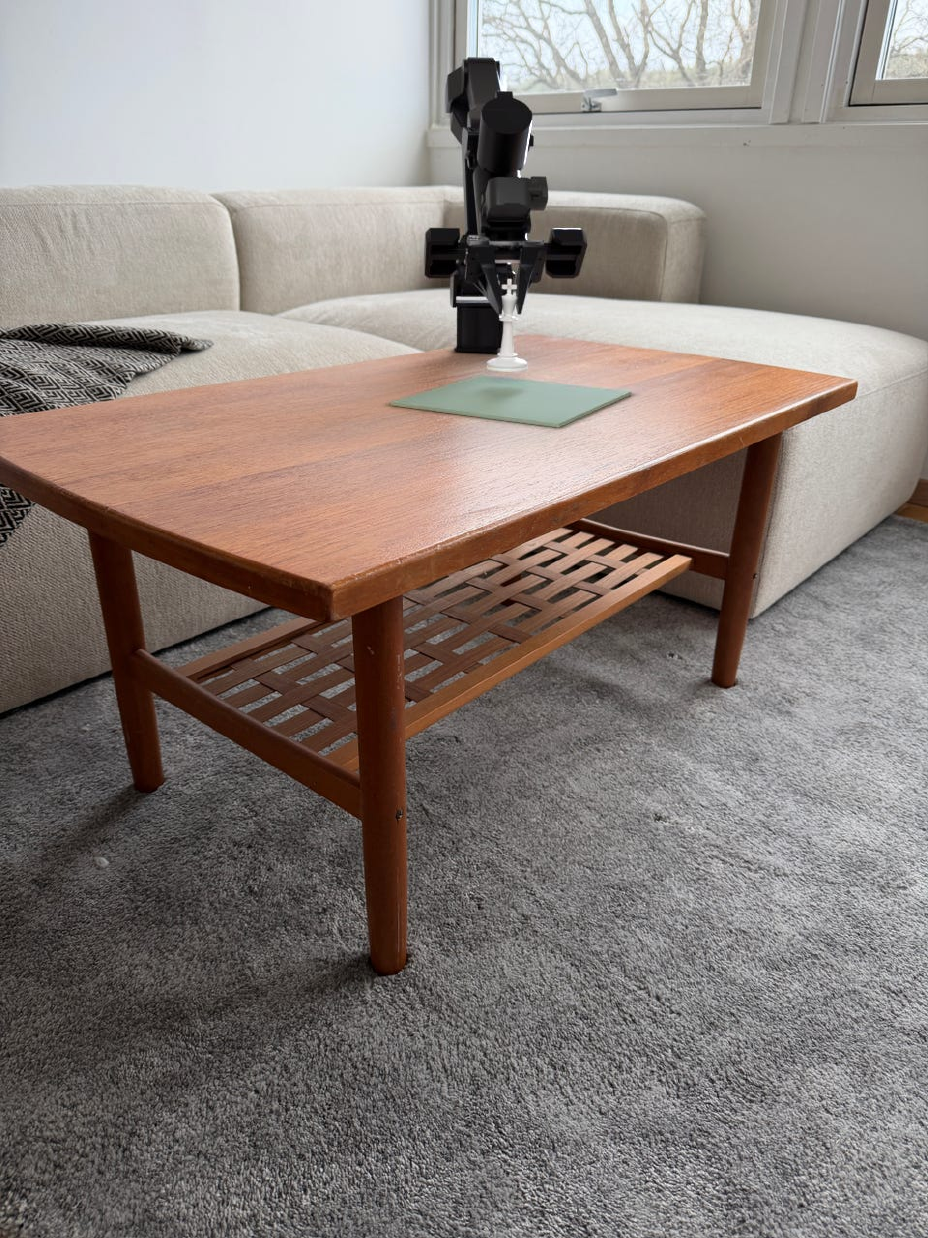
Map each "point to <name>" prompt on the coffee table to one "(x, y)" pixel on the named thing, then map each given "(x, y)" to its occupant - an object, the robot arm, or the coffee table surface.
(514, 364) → the chess piece
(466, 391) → the felt mat
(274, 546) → the coffee table surface
